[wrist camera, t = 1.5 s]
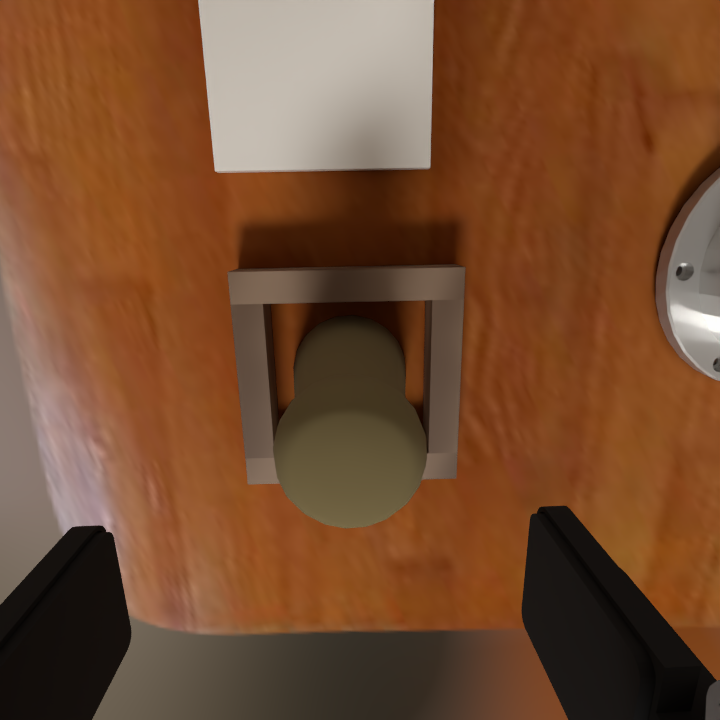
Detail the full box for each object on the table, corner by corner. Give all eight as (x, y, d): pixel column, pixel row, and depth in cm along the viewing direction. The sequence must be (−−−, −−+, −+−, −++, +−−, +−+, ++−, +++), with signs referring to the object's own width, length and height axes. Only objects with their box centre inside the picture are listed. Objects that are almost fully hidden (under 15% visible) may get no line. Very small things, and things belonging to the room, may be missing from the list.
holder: (455, 264, 23) (465, 267, 21) (448, 460, 26) (456, 478, 24) (237, 268, 23) (227, 272, 21) (255, 465, 26) (248, 484, 24)
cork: (295, 310, 23) (252, 375, 13) (411, 319, 24) (462, 389, 13) (291, 418, 25) (249, 554, 15) (399, 425, 25) (436, 564, 15)
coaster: (433, -88, 19) (436, -97, 18) (428, 169, 22) (430, 167, 21) (193, -86, 19) (188, -96, 18) (218, 172, 22) (214, 171, 21)
